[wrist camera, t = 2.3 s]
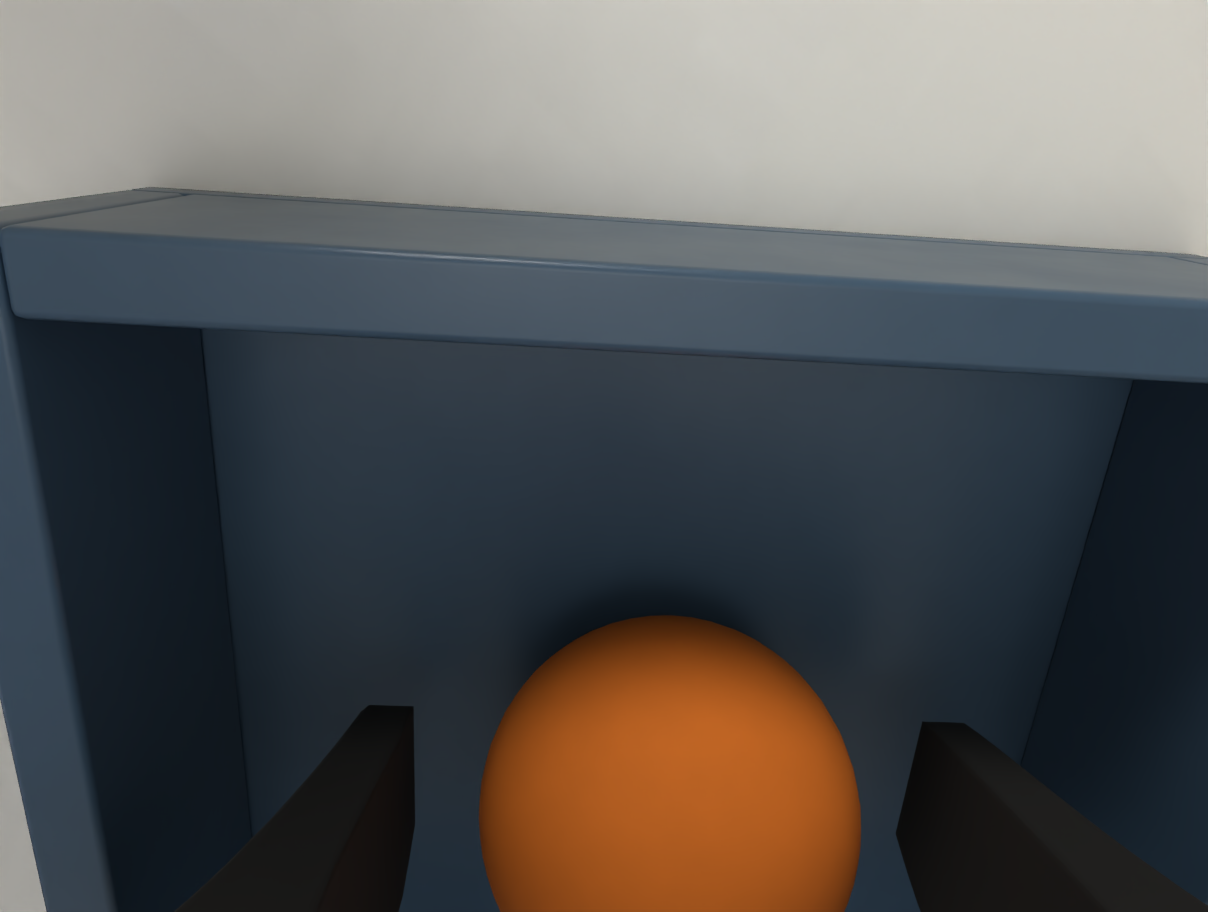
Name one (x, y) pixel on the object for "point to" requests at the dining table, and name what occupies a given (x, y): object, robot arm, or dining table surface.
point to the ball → (668, 780)
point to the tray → (577, 507)
